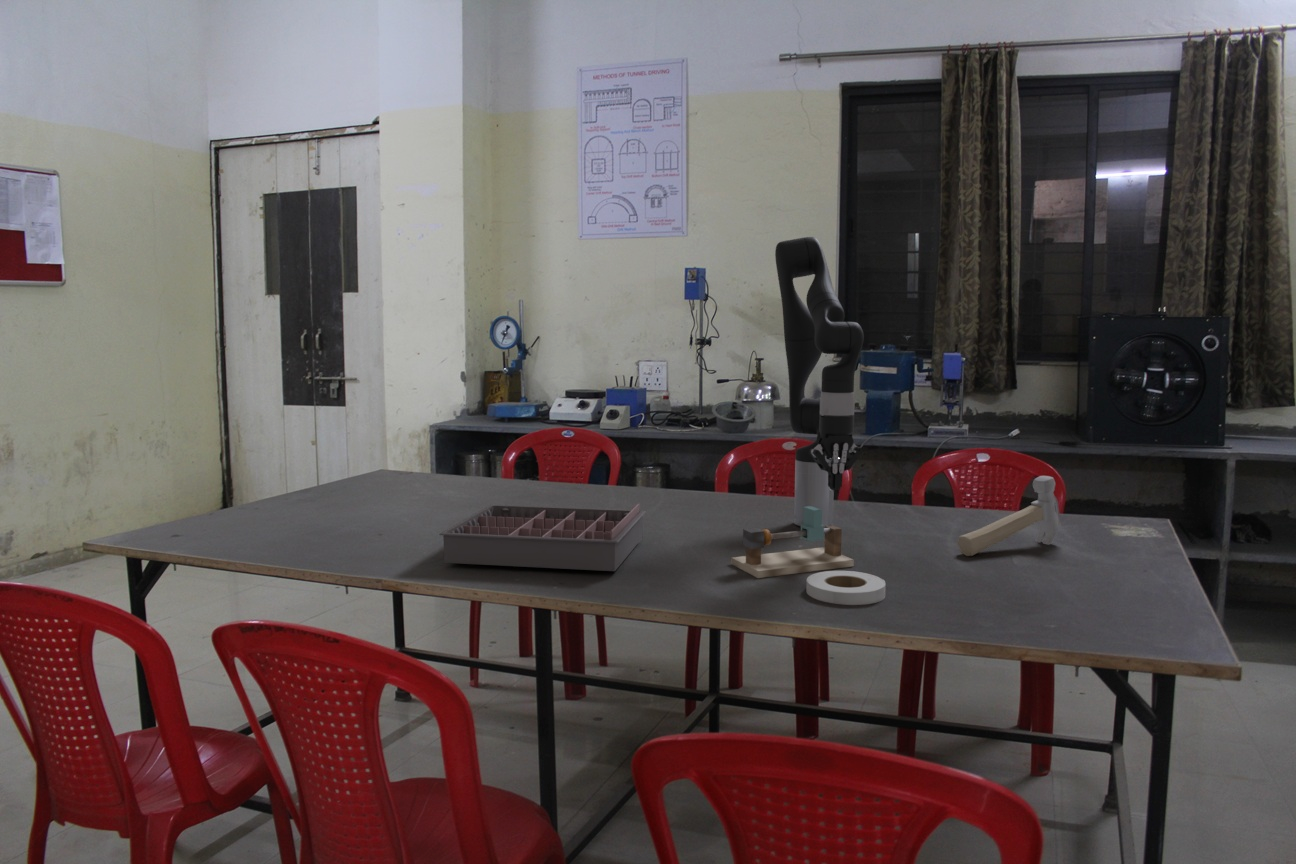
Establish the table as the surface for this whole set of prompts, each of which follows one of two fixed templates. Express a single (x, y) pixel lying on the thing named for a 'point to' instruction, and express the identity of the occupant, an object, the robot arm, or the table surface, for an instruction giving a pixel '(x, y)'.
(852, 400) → the robot arm
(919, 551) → the table surface
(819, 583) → the roll of tape
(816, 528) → the teal stepped block
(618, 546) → the organizer tray
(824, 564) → the cable board
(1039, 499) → the hammer
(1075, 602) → the table surface
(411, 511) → the table surface
